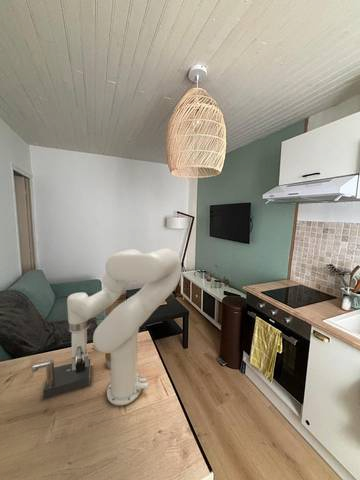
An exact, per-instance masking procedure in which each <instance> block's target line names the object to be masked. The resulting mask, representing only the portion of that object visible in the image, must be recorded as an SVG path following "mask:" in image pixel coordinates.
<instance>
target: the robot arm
mask: <svg viewBox="0 0 360 480" xmlns="http://www.w3.org/2000/svg"><path fill="white" fill-rule="evenodd" d="M182 269H183V268H182V261H181V259H180V256H179V255H178V253H177V252H176V251H175V250H173V249H171V248H167V247H165V248H159V249H155V250H154V251H151V252H148V253H147V252H146V253H143V252H141V251H140V250H138V249H134V248H133V249H131V248H130V249H126V250H122V251H118V252H115V253H113V254H112V255H110V256H109V257H108V258H107V260H106V262H105V272H106V273H105V274H104V275H103V277H102V282H103V285H104V287H103V288H102V289H101V290H100V291H98V292H96V293H94V294H92V295H90V296H89V295H88V294H87V292H74V293H71V294H69V295H68V296H67V298H66V307H67V309H66V310H67V322H68V332H70V333H71V358H72V357H73V358H74V357H75V356H76V363H75V365H76V373H80V372H83V371H85V361H84V355H85V354H87V353H88V351H87V347H88V329H89V328H90V326H91V322H90V319H93V318H95V317H96V316H98V315H99V314H101V313H102V312H103V311H105V310H106V309H108V308H110V307H111V306H112V305H113V304H114V303H115V302H116V301H117V300H118V299H119V298H120V297H121V295H122V294H123V292H124V289H125V288H126V287H127V286H128V285H129V284H130V283H145V284H144V285H143V286H142V287H141V289H139V290H138V291H137V292H136V293H134V294H133V295H131V296H130V297H128V298H127V299H125V300H124V301H122V302H120V303H119V304H118V305H116V306H115V307H114V308H113V309H112V310H111V311H110V312H109V313H108V314H107V316H105V318H104V319H103V320H102V321H101V322H100V323H99V324H98V325H97V327H96V328H95V330H94V332H93V336H92V342H93V343H92V344H93V345H94V348H95V349H96V350H97V351H98V352H99V353H102V354H105V353H111V368H110V383H109V385H108V387H107V389H106V398H107V400H108V401H109V402H110V404H112V405H114V406H125V405H129V404H130V403H133V401H136V399H137V398H138V397H139V395H140V394H141V391H142V390H148V389H149V387H150V386H149V383H150V382H147V377H143V378H141V377H140V373H138V335H139V330H140V327H142V326H143V325H144V323H145V322H146V321H147V320H149V318H150V317H151V315H152V314H153V313H154V312H155V311H156V310H157V309H158V308H159V307H160V306H161V305H162V304H163V303H164V302H165V301H166V299H168V297H170V296H171V294H172V293H173V292H174V291H175V289H176V288H177V286H178V284H179V282H180V279H181V276H182ZM81 356H82V359H81Z"/></svg>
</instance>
